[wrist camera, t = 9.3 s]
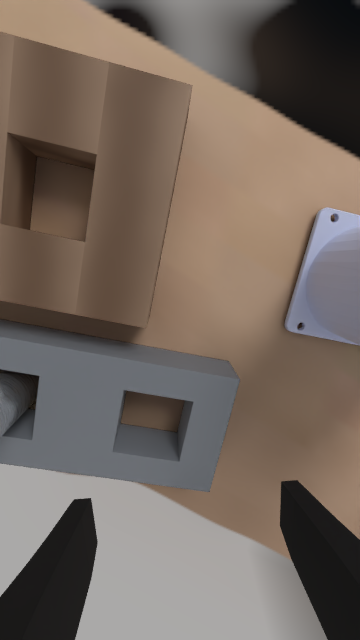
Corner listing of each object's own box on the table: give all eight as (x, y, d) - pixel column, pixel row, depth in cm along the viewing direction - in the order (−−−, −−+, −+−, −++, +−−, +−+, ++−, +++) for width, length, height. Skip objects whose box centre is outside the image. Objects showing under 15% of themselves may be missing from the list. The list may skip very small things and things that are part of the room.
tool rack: (228, 361, 19) (240, 379, 16) (203, 459, 21) (209, 492, 18) (-43, 311, 17) (-85, 321, 14) (-48, 422, 19) (-86, 451, 16)
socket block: (187, 117, 16) (192, 85, 13) (149, 317, 18) (146, 328, 15) (-31, 59, 15) (-80, 9, 12) (-41, 280, 17) (-84, 284, 14)
